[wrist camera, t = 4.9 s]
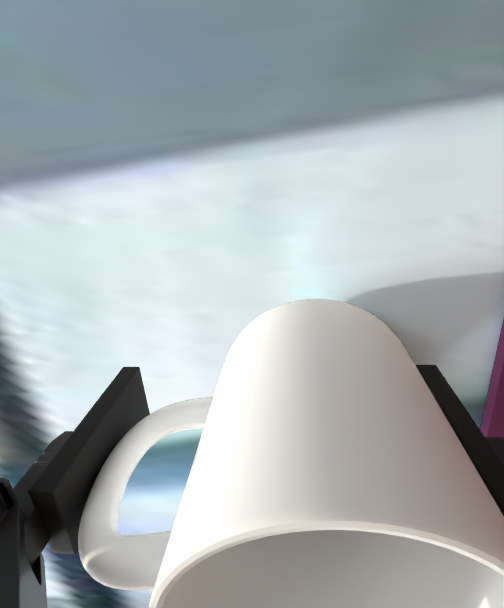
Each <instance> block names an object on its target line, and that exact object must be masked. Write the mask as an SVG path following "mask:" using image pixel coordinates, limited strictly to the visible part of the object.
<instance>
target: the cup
mask: <svg viewBox="0 0 504 608" xmlns="http://www.w3.org/2000/svg"><path fill="white" fill-rule="evenodd" d="M189 429H204V430H203V433H202V436H201V439H200V442H199V446H198V449H197V452H196V455H195V459H194V462H193V465H192V468H191V471H190V475H189V478H188V481H187V484H186V487H185V491H184V494H183V497H182V500H181V503H180V506H179V510H178V513H177V516H176V519H175V522H174V526H173V529H172V531H166V532H159V533H151V534H143V535H122V534H120V533H118V530H117V521H118V513H119V508H120V504H121V500H122V496H123V494H124V491H125V488H126V485H127V483H128V480H129V478H130V476H131V474H132V472H133V470H134V469H135V467H136V465H137V464H138V462H139V461H140V459H141V458H142V457H143V455H144V454H145V453H146V452H147V451H148V450H149V448H150V447H151V446H153V445H154V444H155V443H156V442H157V441H159V440H160V439H162V438H163V437H165V436H167V435H169V434H172V433H175V432H178V431H182V430H189ZM78 547H79V554H80V559H81V562H82V564H83V566H84V568H85V570H86V571H87V572H88V573H89V574H90V576H91V577H93V578H94V579H95V580H96V581H98V582H100V583H101V584H103V585H105V586H108V587H111V588H115V589H122V590H153V593H152V597H151V600H150V605H149V608H504V516H503V514H502V513H501V511H500V509H499V508H498V506H497V504H496V502H495V501H494V499H493V497H492V496H491V494H490V492H489V490H488V489H487V487H486V485H485V484H484V482H483V480H482V478H481V477H480V475H479V473H478V472H477V470H476V468H475V466H474V465H473V463H472V461H471V460H470V458H469V456H468V454H467V453H466V451H465V449H464V448H463V446H462V444H461V442H460V441H459V439H458V437H457V436H456V434H455V432H454V431H453V429H452V427H451V425H450V424H449V422H448V420H447V419H446V417H445V415H444V413H443V412H442V410H441V408H440V407H439V405H438V403H437V401H436V400H435V398H434V396H433V395H432V393H431V391H430V389H429V388H428V386H427V384H426V383H425V381H424V379H423V377H422V376H421V374H420V372H419V371H418V369H417V367H416V365H415V364H414V362H413V360H412V359H411V357H410V355H409V354H408V352H407V350H406V349H405V347H404V346H403V344H402V343H401V342H400V340H399V339H398V337H397V336H396V335H395V334H394V333H393V332H392V331H391V329H390V328H389V327H388V326H387V325H385V324H384V323H383V322H382V321H381V320H380V319H378V318H377V317H375V316H374V315H373V314H371V313H369V312H367V311H365V310H363V309H361V308H359V307H357V306H354V305H351V304H348V303H344V302H340V301H335V300H328V299H306V300H298V301H294V302H289V303H286V304H283V305H280V306H277V307H275V308H273V309H270V310H269V311H267V312H265V313H263V314H262V315H260V316H259V317H257V318H256V319H254V320H253V321H252V322H251V323H250V324H248V325H247V327H246V328H245V329H244V330H243V331H242V332H241V333H240V335H239V336H238V337H237V339H236V340H235V342H234V343H233V345H232V347H231V349H230V351H229V353H228V355H227V358H226V360H225V363H224V366H223V369H222V372H221V375H220V378H219V381H218V384H217V388H216V391H215V394H214V397H205V398H197V399H191V400H186V401H182V402H178V403H174V404H171V405H168V406H166V407H163V408H161V409H159V410H157V411H155V412H153V413H151V414H150V415H148V416H147V417H145V418H144V419H142V420H141V421H140V422H138V423H137V424H136V425H135V426H134V427H132V428H131V429H130V430H129V431H128V432H127V433H126V434H125V436H124V437H123V438H122V439H121V440H120V441H119V443H118V444H117V445H116V446H115V448H114V449H113V451H112V452H111V453H110V455H109V457H108V458H107V460H106V461H105V463H104V465H103V467H102V468H101V470H100V472H99V474H98V476H97V478H96V480H95V482H94V484H93V487H92V489H91V491H90V494H89V496H88V499H87V501H86V504H85V507H84V510H83V513H82V517H81V521H80V526H79V532H78Z"/></svg>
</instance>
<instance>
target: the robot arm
mask: <svg viewBox="0 0 504 608" xmlns="http://www.w3.org/2000/svg"><path fill="white" fill-rule="evenodd" d="M416 367H417V369H418V371H419V372H420V374H421V376H422V377H423V379H424V381H425V383H426V384H427V386H428V388H429V389H430V391H431V393H432V395H433V396H434V398H435V400H436V401H437V403H438V405H439V407H440V408H441V410H442V412H443V413H444V415H445V417H446V419H447V420H448V422H449V424H450V425H451V427H452V429H453V431H454V432H455V434H456V436H457V437H458V439H459V441H460V442H461V444H462V446H463V448H464V449H465V451H466V453H467V454H468V456H469V458H470V460H471V461H472V463H473V465H474V466H475V468H476V470H477V472H478V473H479V475H480V477H481V478H482V480H483V482H484V484H485V485H486V487H487V489H488V490H489V492H490V494H491V496H492V497H493V499H494V501H495V502H496V504H497V506H498V508H499V509H500V511H501V513H502V514H503V516H504V438H502V437H484V435H483V434H482V432H481V431H480V429H479V428H478V426H477V425H476V423H475V422H474V421H473V419H472V418H471V416H470V415H469V413H468V412H467V410H466V409H465V407H464V406H463V404H462V403H461V402H460V400H459V399H458V397H457V396H456V394H455V393H454V391H453V390H452V388H451V387H450V385H449V384H448V383H447V381H446V380H445V378H444V377H443V375H442V374H441V372H440V371H439V369H438V368H437V366H436V365H416ZM148 415H150V413H149V409H148V404H147V400H146V395H145V391H144V386H143V382H142V377H141V373H140V368H139V367H123V368H122V369H121V371H120V372H119V373H118V375H117V376H116V377H115V379H114V380H113V381H112V382H111V384H110V385H109V386H108V388H107V389H106V390H105V391H104V393H103V394H102V395H101V397H100V398H99V399H98V401H97V402H96V403H95V404H94V406H93V407H92V408H91V410H90V411H89V412H88V414H87V415H86V416H85V417H84V419H83V420H82V421H81V423H80V424H79V425H78V426H77V428H76V429H75V430H74V432H72V431H65V432H64V433H62V434H61V435H60V436H58V437H57V438H56V439H54V440H53V441H52V442H51V443H50V444H49V446H48V447H47V448H46V449H45V450H44V452H43V454H41V455H40V456H39V458H38V459H37V460H36V461H35V464H33V465H32V466H31V467H30V469H29V470H28V471H27V472H26V474H25V475H24V476H23V477H22V478H21V480H20V481H19V482H18V483H17V485H16V486H15V487H14V488H13V489H12V486H11V484H10V482H9V480H7V479H5V478H0V608H47V597H46V581H45V566H44V558H43V556H42V553H41V552H42V551H43V549H44V547H45V546H46V544H47V543H48V541H49V542H50V545H51V547H52V549H53V552H54V553H69V554H76V553H77V551H78V549H79V547H78V532H79V526H80V521H81V517H82V513H83V510H84V507H85V504H86V501H87V499H88V496H89V494H90V491H91V489H92V487H93V484H94V482H95V480H96V478H97V476H98V474H99V472H100V470H101V468H102V467H103V465H104V463H105V461H106V460H107V458H108V457H109V455H110V453H111V452H112V451H113V449H114V448H115V446H116V445H117V444H118V443H119V441H120V440H121V439H122V438H123V437H124V436H125V434H126V433H127V432H128V431H129V430H130V429H131V428H132V427H134V426H135V425H136V424H137V423H138V422H140V421H141V420H142V419H144V418H145V417H147V416H148Z"/></svg>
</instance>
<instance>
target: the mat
mask: <svg viewBox="0 0 504 608" xmlns="http://www.w3.org/2000/svg"><path fill="white" fill-rule="evenodd" d="M480 431H481V432H482V434H483V435H484V437H502V438H504V320H503V324H502V329H501V334H500V339H499V343H498V348H497V353H496V357H495V362H494V367H493V372H492V376H491V381H490V386H489V390H488V395H487V400H486V405H485V409H484V414H483V419H482V423H481V428H480Z"/></svg>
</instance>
